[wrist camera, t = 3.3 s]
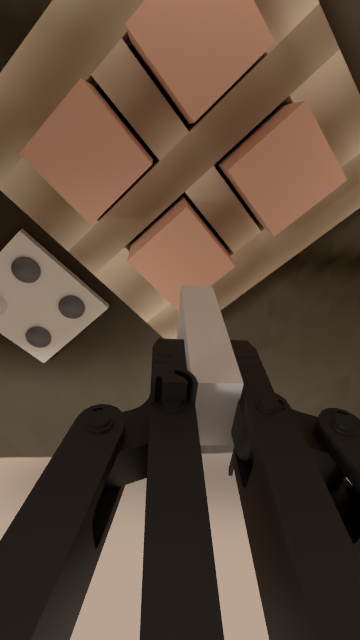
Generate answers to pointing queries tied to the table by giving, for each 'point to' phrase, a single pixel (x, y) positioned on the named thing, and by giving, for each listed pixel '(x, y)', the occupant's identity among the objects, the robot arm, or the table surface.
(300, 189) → the button
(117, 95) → the board
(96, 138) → the button
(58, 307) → the card
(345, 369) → the table surface
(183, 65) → the button
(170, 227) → the button
